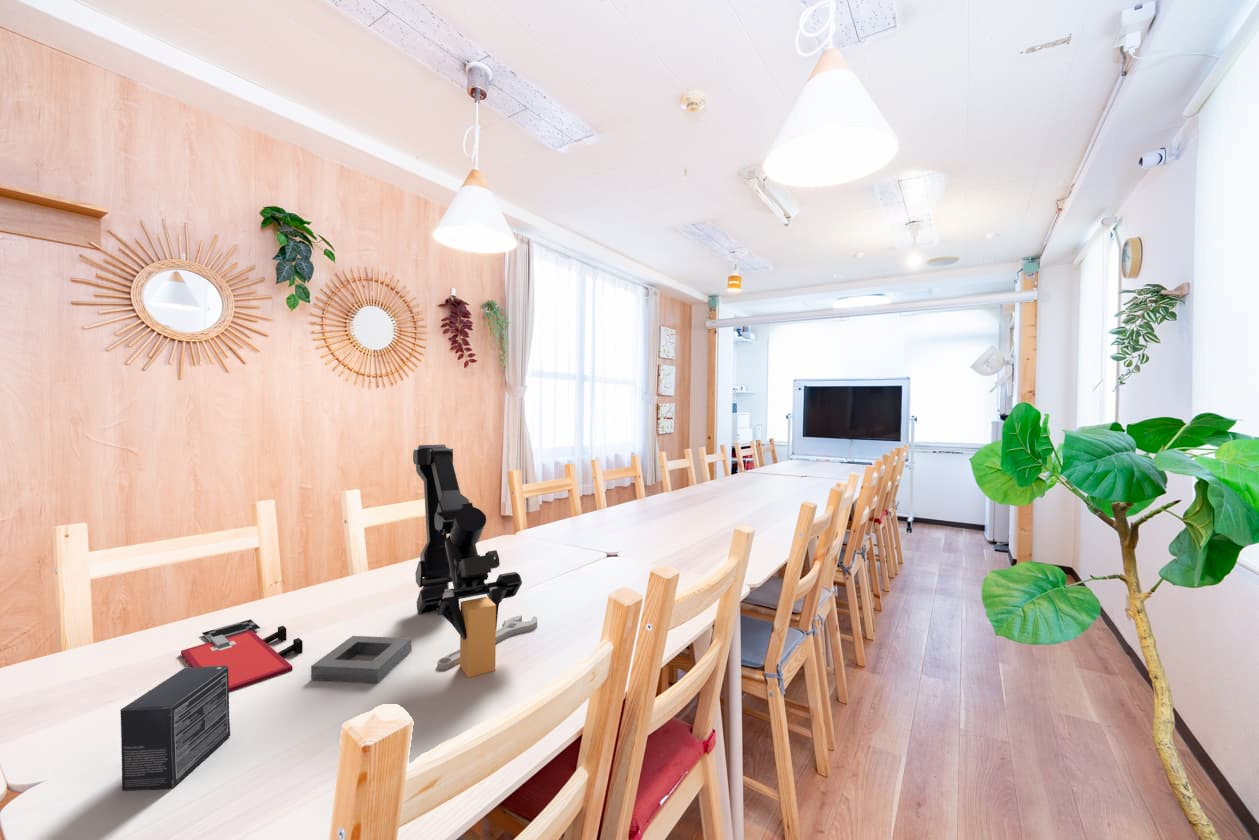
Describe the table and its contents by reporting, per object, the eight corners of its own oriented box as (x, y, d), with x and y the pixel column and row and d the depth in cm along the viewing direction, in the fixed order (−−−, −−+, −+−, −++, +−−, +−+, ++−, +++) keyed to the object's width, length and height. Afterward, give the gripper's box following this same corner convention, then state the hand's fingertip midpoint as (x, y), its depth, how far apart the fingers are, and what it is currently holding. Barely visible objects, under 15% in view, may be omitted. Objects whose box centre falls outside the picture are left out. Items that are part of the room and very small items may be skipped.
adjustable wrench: (443, 674, 93) (443, 664, 93) (423, 663, 97) (422, 654, 97) (541, 626, 114) (541, 618, 113) (521, 619, 117) (521, 612, 117)
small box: (184, 737, 73) (184, 665, 73) (232, 735, 74) (232, 663, 74) (116, 792, 63) (116, 707, 63) (173, 789, 64) (173, 706, 63)
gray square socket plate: (352, 648, 101) (352, 635, 101) (411, 650, 101) (411, 638, 100) (311, 680, 89) (311, 665, 89) (377, 683, 89) (377, 668, 89)
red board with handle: (260, 620, 114) (171, 645, 102) (260, 608, 114) (171, 631, 102) (315, 665, 96) (214, 702, 84) (315, 650, 95) (214, 685, 84)
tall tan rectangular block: (460, 665, 95) (460, 601, 95) (486, 658, 98) (487, 596, 98) (467, 677, 91) (468, 610, 91) (495, 670, 94) (496, 605, 93)
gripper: (420, 543, 92) (434, 626, 83) (519, 531, 102) (541, 604, 93) (411, 575, 99) (423, 655, 90) (504, 560, 109) (524, 631, 100)
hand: (480, 635), depth 93 cm, fingers closed on tall tan rectangular block, 5 cm apart
